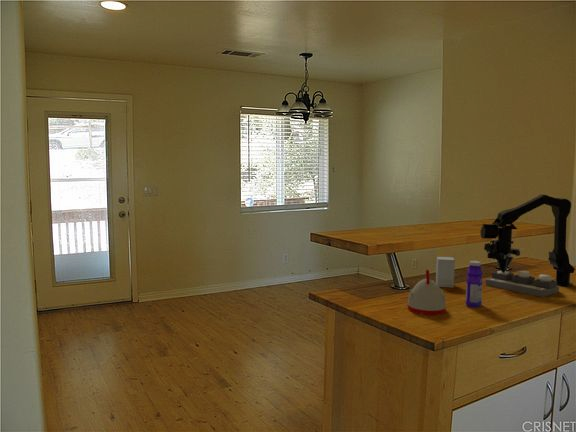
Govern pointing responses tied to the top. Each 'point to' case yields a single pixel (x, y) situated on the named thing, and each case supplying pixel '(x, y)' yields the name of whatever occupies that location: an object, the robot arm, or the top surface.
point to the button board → (523, 284)
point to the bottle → (474, 285)
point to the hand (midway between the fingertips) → (503, 272)
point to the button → (502, 272)
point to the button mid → (523, 274)
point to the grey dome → (427, 298)
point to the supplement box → (445, 271)
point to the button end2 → (545, 278)
